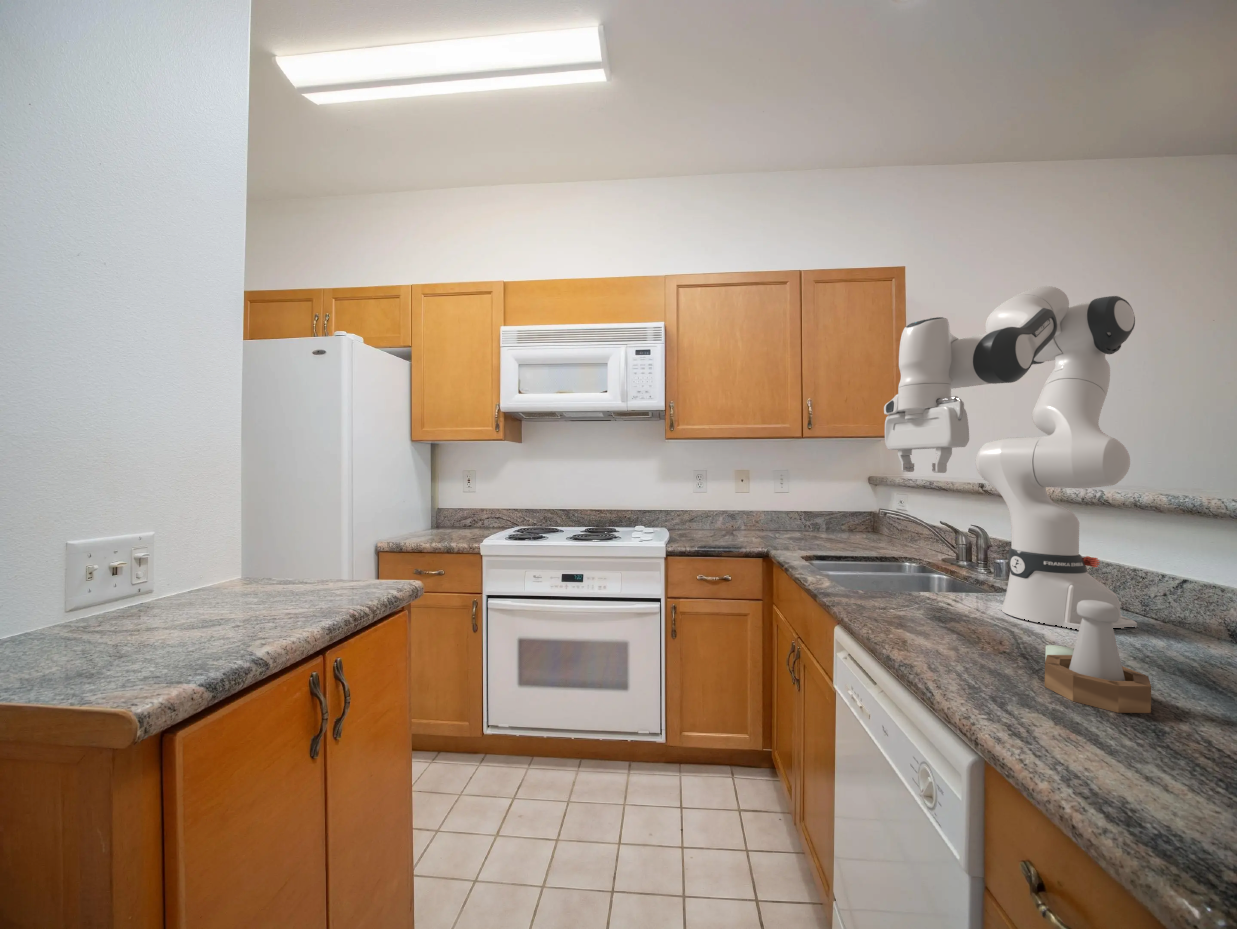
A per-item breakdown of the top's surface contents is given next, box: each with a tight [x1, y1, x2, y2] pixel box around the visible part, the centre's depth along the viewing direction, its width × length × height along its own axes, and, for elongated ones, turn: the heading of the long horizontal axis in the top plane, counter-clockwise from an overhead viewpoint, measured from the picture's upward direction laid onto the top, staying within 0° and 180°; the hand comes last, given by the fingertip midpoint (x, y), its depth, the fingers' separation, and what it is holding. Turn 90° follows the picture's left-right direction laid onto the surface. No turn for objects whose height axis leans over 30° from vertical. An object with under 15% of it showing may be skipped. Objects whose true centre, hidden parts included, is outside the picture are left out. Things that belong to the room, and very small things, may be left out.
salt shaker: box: [1069, 600, 1125, 681], centre depth 70 cm, size 6×6×13 cm
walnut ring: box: [1044, 655, 1152, 714], centre depth 70 cm, size 10×10×4 cm
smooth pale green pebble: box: [1044, 644, 1074, 661], centre depth 79 cm, size 4×4×3 cm
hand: (922, 472), depth 96 cm, fingers open, 8 cm apart
